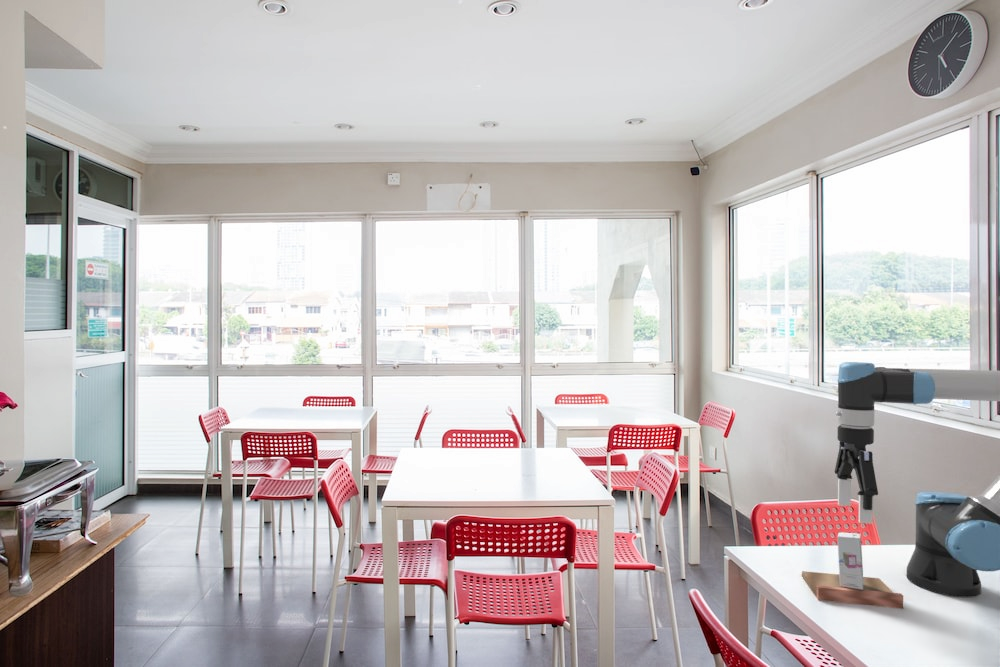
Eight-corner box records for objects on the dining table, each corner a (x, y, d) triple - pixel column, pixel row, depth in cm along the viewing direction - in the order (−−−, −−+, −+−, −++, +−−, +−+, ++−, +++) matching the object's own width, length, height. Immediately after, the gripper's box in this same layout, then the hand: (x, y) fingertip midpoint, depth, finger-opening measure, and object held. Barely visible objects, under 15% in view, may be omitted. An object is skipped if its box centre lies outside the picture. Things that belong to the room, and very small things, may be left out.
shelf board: (879, 584, 148) (879, 572, 148) (903, 608, 135) (903, 595, 135) (801, 576, 152) (802, 565, 152) (818, 600, 139) (818, 587, 139)
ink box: (840, 579, 147) (838, 530, 149) (863, 583, 145) (861, 533, 146) (838, 586, 140) (837, 534, 142) (863, 590, 137) (861, 538, 139)
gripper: (821, 417, 155) (820, 497, 155) (858, 434, 130) (857, 529, 131) (853, 418, 153) (852, 499, 153) (896, 436, 129) (894, 532, 129)
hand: (854, 513), depth 142 cm, fingers open, 13 cm apart
